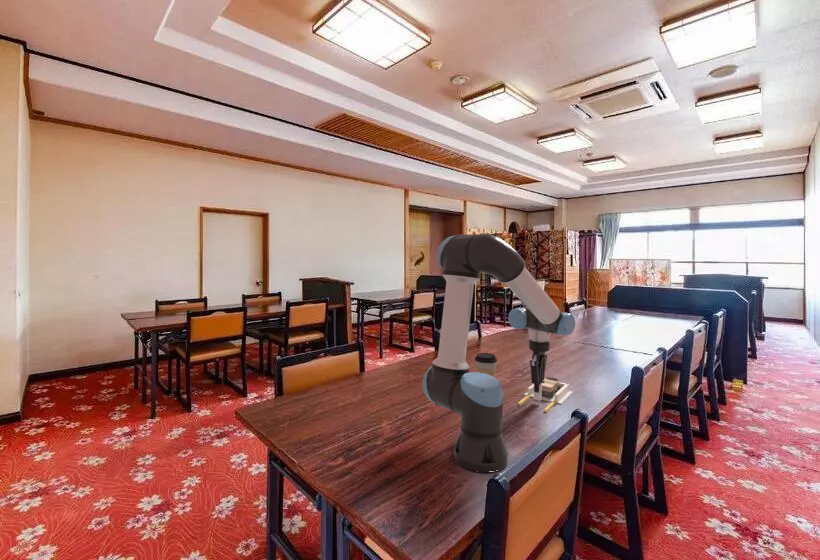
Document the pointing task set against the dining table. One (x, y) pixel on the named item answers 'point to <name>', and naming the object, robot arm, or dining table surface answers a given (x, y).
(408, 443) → the dining table surface
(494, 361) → the coffee cup
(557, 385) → the two-tone toy block
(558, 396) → the dock
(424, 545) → the dining table surface
